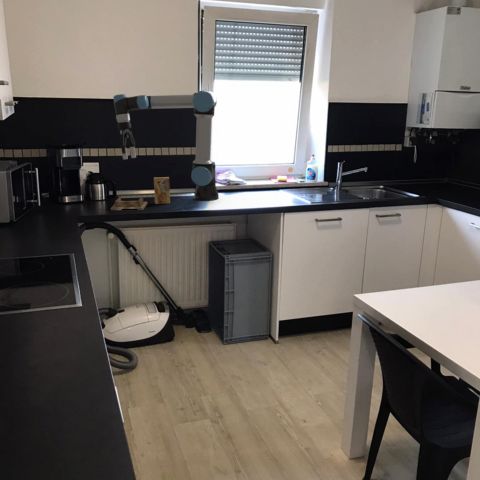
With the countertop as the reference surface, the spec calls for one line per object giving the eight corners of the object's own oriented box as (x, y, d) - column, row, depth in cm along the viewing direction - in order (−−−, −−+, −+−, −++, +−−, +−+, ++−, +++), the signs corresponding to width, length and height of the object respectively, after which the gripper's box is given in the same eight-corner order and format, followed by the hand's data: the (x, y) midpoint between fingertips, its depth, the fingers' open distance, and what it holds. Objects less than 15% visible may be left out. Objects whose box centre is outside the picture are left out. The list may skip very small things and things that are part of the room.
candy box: (169, 202, 320) (168, 176, 316) (170, 203, 316) (169, 177, 312) (154, 202, 318) (153, 177, 314) (155, 204, 314) (154, 178, 310)
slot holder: (147, 203, 316) (146, 196, 315) (143, 209, 298) (142, 202, 297) (116, 204, 315) (116, 197, 314) (110, 210, 297) (110, 202, 296)
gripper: (125, 122, 323) (131, 157, 327) (109, 122, 299) (115, 160, 303) (137, 121, 322) (142, 156, 326) (121, 120, 297) (128, 159, 301)
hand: (129, 158), depth 314 cm, fingers open, 13 cm apart
